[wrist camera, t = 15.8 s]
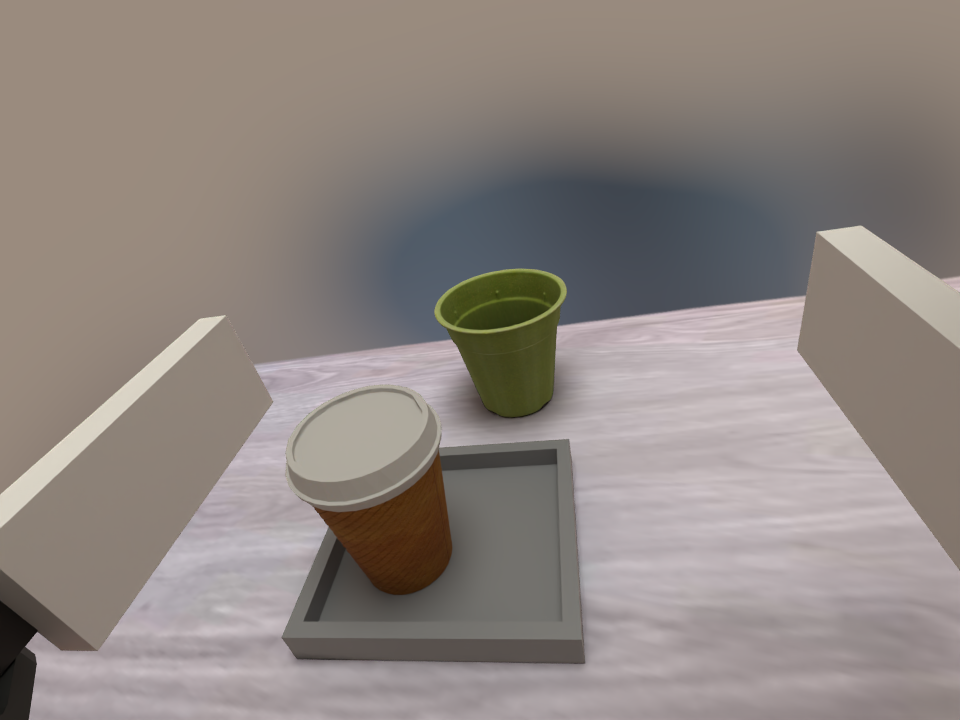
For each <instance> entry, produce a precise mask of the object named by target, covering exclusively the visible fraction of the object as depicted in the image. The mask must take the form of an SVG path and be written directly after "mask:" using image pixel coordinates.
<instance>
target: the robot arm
mask: <svg viewBox="0 0 960 720" xmlns="http://www.w3.org/2000/svg"><path fill="white" fill-rule="evenodd" d="M797 350H798V352H799V353H800V355H801V356H802V357H803V359H804V360H805V361H806V363H807V364H808V365H809V367H810V368H811V369H812V371H813V372H814V374H815V375H816V376H817V378H818V379H819V380H820V382H821V383H822V384H823V386H824V387H825V388H826V390H827V391H828V393H829V394H830V395H831V397H832V398H833V399H834V401H835V402H836V403H837V405H838V406H839V407H840V409H841V410H842V411H843V413H844V414H845V416H846V417H847V418H848V420H849V421H850V422H851V424H852V425H853V426H854V428H855V429H856V430H857V432H858V433H859V435H860V436H861V437H862V439H863V440H864V441H865V443H866V444H867V445H868V447H869V448H870V449H871V451H872V452H873V454H874V455H875V456H876V458H877V459H878V460H879V462H880V463H881V464H882V466H883V467H884V468H885V470H886V471H887V472H888V474H889V475H890V477H891V478H892V479H893V481H894V482H895V483H896V485H897V486H898V487H899V489H900V490H901V491H902V493H903V494H904V496H905V497H906V498H907V500H908V501H909V502H910V504H911V505H912V506H913V508H914V509H915V510H916V512H917V513H918V515H919V516H920V517H921V519H922V520H923V521H924V523H925V524H926V525H927V527H928V528H929V529H930V531H931V532H932V534H933V535H934V536H935V538H936V539H937V540H938V542H939V543H940V544H941V546H942V547H943V548H944V550H945V551H946V552H947V554H948V555H949V557H950V558H951V559H952V561H953V562H954V563H955V565H956V566H957V567H958V569H959V570H960V293H959V292H958V291H956V290H955V289H953V288H952V287H950V286H949V285H947V284H946V283H945V282H943V281H942V280H940V279H939V278H937V277H936V276H934V275H933V274H931V273H930V272H928V271H927V270H925V269H924V268H923V267H921V266H920V265H918V264H917V263H915V262H914V261H912V260H911V259H909V258H908V257H906V256H905V255H903V254H902V253H900V252H899V251H898V250H896V249H895V248H893V247H892V246H890V245H889V244H887V243H886V242H884V241H883V240H881V239H880V238H878V237H877V236H876V235H874V234H873V233H871V232H870V231H868V230H866V229H865V228H864V227H862V226H856V227H849V228H842V229H835V230H828V231H820V232H817V233H816V239H815V246H814V251H813V257H812V264H811V270H810V276H809V282H808V288H807V294H806V300H805V306H804V312H803V318H802V324H801V330H800V336H799V342H798V348H797ZM272 403H273V400H272V398H271V397H270V395H269V393H268V391H267V389H266V387H265V386H264V384H263V382H262V380H261V378H260V376H259V374H258V373H257V371H256V369H255V367H254V365H253V363H252V362H251V360H250V358H249V356H248V354H247V352H246V351H245V349H244V347H243V345H242V343H241V341H240V340H239V338H238V336H237V334H236V332H235V330H234V328H233V327H232V325H231V323H230V321H229V319H228V317H227V316H226V315H225V316H218V317H211V318H204V319H199V320H198V321H197V322H196V323H195V324H193V325H192V326H191V327H190V328H189V329H188V330H187V331H186V332H184V333H183V334H182V335H181V336H180V337H179V338H178V339H176V340H175V341H174V342H173V343H172V344H171V345H170V346H168V347H167V348H166V349H165V350H164V351H163V352H162V353H161V354H160V355H158V356H157V357H156V358H155V359H154V360H153V361H152V362H150V363H149V364H148V365H147V366H146V367H145V368H144V369H142V370H141V371H140V372H139V373H138V374H137V375H136V376H134V377H133V378H132V379H131V380H130V381H129V382H128V383H126V384H125V385H124V386H123V387H122V388H121V389H120V390H119V391H117V392H116V393H115V394H114V395H113V396H112V397H111V398H110V399H108V400H107V401H106V402H105V403H104V404H103V405H102V406H101V407H99V408H98V409H97V410H96V411H95V412H94V413H93V414H91V415H90V416H89V417H88V418H87V419H86V420H85V421H83V422H82V423H81V424H80V425H79V426H78V427H77V428H75V429H74V430H73V431H72V432H71V433H70V434H69V435H67V436H66V437H65V438H64V439H63V440H62V441H61V442H60V443H58V445H56V446H55V447H54V448H53V449H52V450H50V451H49V452H48V453H47V454H46V455H45V456H44V457H43V458H42V459H40V460H39V461H38V462H37V463H36V464H35V465H33V466H32V467H31V468H30V469H29V470H28V471H27V472H26V473H24V474H23V475H22V476H21V477H20V478H19V479H18V480H16V481H15V482H14V483H13V484H12V485H11V486H10V487H8V488H7V489H6V490H5V491H4V492H3V493H2V494H1V495H0V720H29V714H30V707H31V700H32V693H33V686H34V679H35V672H36V665H37V663H36V657H35V654H34V653H32V652H31V651H30V650H28V649H27V648H26V647H25V646H26V645H27V643H28V642H29V641H30V640H31V639H32V637H33V636H34V635H35V634H36V633H37V632H39V633H40V634H41V635H42V636H44V637H45V638H46V639H47V640H49V641H50V642H51V643H53V644H54V645H55V646H56V647H58V648H59V649H60V650H67V651H98V650H99V649H100V647H101V646H102V644H103V643H104V642H105V640H106V639H107V637H108V636H109V635H110V633H111V632H112V630H113V629H114V627H115V626H116V625H117V623H118V622H119V620H120V619H121V617H122V616H123V615H124V613H125V612H126V610H127V609H128V608H129V606H130V605H131V603H132V602H133V600H134V599H135V598H136V596H137V595H138V593H139V592H140V591H141V589H142V588H143V586H144V585H145V583H146V582H147V581H148V579H149V578H150V576H151V575H152V573H153V572H154V571H155V569H156V568H157V566H158V565H159V564H160V562H161V561H162V559H163V558H164V556H165V555H166V554H167V552H168V551H169V549H170V548H171V547H172V545H173V544H174V542H175V541H176V539H177V538H178V537H179V535H180V534H181V532H182V531H183V529H184V528H185V527H186V525H187V524H188V522H189V521H190V520H191V518H192V517H193V515H194V514H195V512H196V511H197V510H198V508H199V507H200V505H201V504H202V503H203V501H204V500H205V498H206V497H207V495H208V494H209V493H210V491H211V490H212V488H213V487H214V485H215V484H216V483H217V481H218V480H219V478H220V477H221V476H222V474H223V473H224V471H225V470H226V468H227V467H228V466H229V464H230V463H231V461H232V460H233V458H234V457H235V456H236V454H237V453H238V451H239V450H240V449H241V447H242V446H243V444H244V443H245V441H246V440H247V439H248V437H249V436H250V434H251V433H252V432H253V430H254V429H255V427H256V426H257V424H258V423H259V422H260V420H261V419H262V417H263V416H264V414H265V413H266V412H267V410H268V409H269V407H270V406H271V405H272Z"/></svg>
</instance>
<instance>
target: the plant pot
mask: <svg viewBox="0 0 960 720" xmlns="http://www.w3.org/2000/svg"><path fill="white" fill-rule="evenodd" d="M566 293H567V290H566V286H565V284H564V282H563V281H562V280H561V279H560V278H559V277H557V276H555V275H553V274H551V273H548V272H544V271H540V270H533V269H508V270H501V271H495V272H490V273H486V274H482V275H479V276H476V277H473V278H471V279H468V280H466V281H464V282H461V283H460V284H458V285H456V286H454V287H453V288H451V289H450V290H448V291H447V292H446V293H445V294H444V295H443V296H442V297H441V298H440V299H439V301H438V302H437V304H436V307H435V316H436V319H437V320H438V322H439V323H440V324H441V325H442V326H443V327H445V328H447V331H448V333H449V335H450V337H451V339H452V340H453V342H454V343H455V344H456V345H457V347H458V349H459V351H460V354H461V356H462V358H463V360H464V362H465V364H466V367H467V369H468V371H469V373H470V375H471V378H472V380H473V382H474V384H475V386H476V389H477V391H478V393H479V395H480V397H481V399H482V402H483V404H484V406H485V407H486V408H487V409H488V410H490V411H493V412H495V413H497V414H498V415H500V416H504V417H519V416H524V415H528V414H531V413H534V412H536V411H538V410H539V409H540V408H541V407H542V406H543V405H544V404H545V403H546V402H548V401H550V399H551V397H552V395H553V386H554V370H555V351H556V334H557V325H558V322H559V318H560V306H561V305H562V303H563V302H564V300H565V297H566Z"/></svg>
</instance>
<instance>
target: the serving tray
mask: <svg viewBox="0 0 960 720" xmlns="http://www.w3.org/2000/svg"><path fill="white" fill-rule="evenodd" d="M439 454H440V461H441V468H442V475H443V482H444V490H445V497H446V504H447V512H448V519H449V526H450V533H451V540H452V554H451V558H450V560H449V563H448V565H447V567H446V568H445V570H444V572H443V573H442V574H441V575H440V576H439V577H438V578H437V579H436V580H435V581H434V582H432V583H431V584H430V585H429V586H427V587H425V588H423V589H422V590H419V591H416V592H414V593H410V594H405V595H393V594H388V593H385V592H383V591H380V590H379V589H378V588H376V587H375V586H374V585H373V584H372V582H371V581H370V579H369V578H368V577H367V576H366V574H365V573H364V572H363V571H362V569H361V568H360V567H359V565H358V564H357V563H356V562H355V560H354V559H353V558H352V556H351V555H350V553H348V552H347V550H346V548H345V547H343V545H342V543H341V542H340V541H339V540H338V538H337V537H336V536H335V534H334V533H333V531H332V530H331V529H330V528H328V530H327V532H326V535H325V537H324V539H323V542H322V544H321V546H320V549H319V551H318V553H317V556H316V558H315V561H314V563H313V565H312V568H311V570H310V572H309V575H308V577H307V579H306V582H305V584H304V586H303V589H302V591H301V593H300V596H299V598H298V600H297V603H296V605H295V607H294V610H293V612H292V614H291V617H290V619H289V622H288V624H287V626H286V629H285V631H284V633H283V636H282V639H283V640H284V642H285V643H286V644H287V646H288V647H289V649H290V650H291V651H292V653H293V654H294V655H295V657H296V658H297V659H339V660H405V661H470V662H536V663H585V655H584V640H583V625H582V610H581V594H580V579H579V564H578V549H577V534H576V518H575V503H574V488H573V473H572V459H571V451H570V443H569V439H564V440H549V441H534V442H519V443H503V444H488V445H473V446H458V447H443V448H439Z"/></svg>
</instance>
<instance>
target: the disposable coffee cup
mask: <svg viewBox="0 0 960 720" xmlns="http://www.w3.org/2000/svg"><path fill="white" fill-rule="evenodd" d="M440 440H441V422H440V419H439V416H438V415H437V413H436V412H435V410H434V409H433V408H432V407H431V406H430V405H429V404H427V403H426V402H425V400H424V399H423V398H422V396H421V395H419V394H418V393H417V392H415V391H413V390H411V389H409V388H407V387H401V386H395V385H374V386H367V387H363V388H359V389H355V390H352V391H349V392H346V393H343V394H341V395H339V396H337V397H334V398H332V399H331V400H329V401H327V402H325V403H323V404H322V405H320V406H319V407H318V408H316V409H315V410H313V411H312V412H311V413H309V414H308V415H307V416H306V417H305V418H304V419H303V420H302V421H301V422H300V423H299V424H298V425H297V427H296V428H295V430H294V431H293V433H292V435H291V436H290V438H289V440H288V444H287V448H286V453H285V454H286V459H287V463H286V474H285V475H286V479H287V482H288V485H289V487H290V488H291V490H292V491H293V492H294V493H295V494H296V495H297V496H298V497H299V498H300V499H301V500H303V501H305V502H307V503H309V504H310V505H312V506H313V507H314V508H315V510H316V511H317V513H319V515H320V516H321V518H322V519H324V521H325V523H326V524H327V525H329V528H330V529H331V530H332V531H333V533H334V534H335V536H336V537H337V538H338V540H339V541H340V542H341V543H342V545H343V547H345V548H346V550H347V552H348V553H350V555H351V556H352V558H353V559H354V560H355V562H356V563H357V564H358V565H359V567H360V568H361V569H362V571H363V572H364V573H365V574H366V576H367V577H368V578H369V579H370V581H371V582H372V584H373V585H374V586H375V587H376V588H378V589H379V590H380V591H383V592H385V593H388V594H393V595H405V594H410V593H414V592H416V591H419V590H422V589H423V588H425V587H427V586H429V585H430V584H431V583H432V582H434V581H435V580H436V579H437V578H438V577H439V576H440V575H441V574H442V573H443V572H444V570H445V568H446V567H447V565H448V563H449V560H450V558H451V554H452V540H451V533H450V526H449V519H448V512H447V504H446V497H445V490H444V482H443V475H442V468H441V461H440V454H439V444H440Z"/></svg>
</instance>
